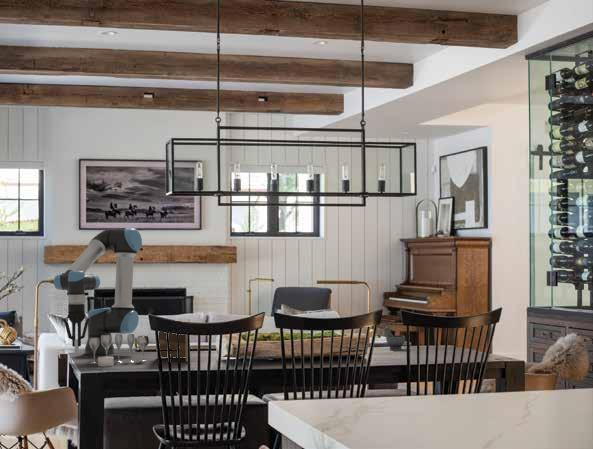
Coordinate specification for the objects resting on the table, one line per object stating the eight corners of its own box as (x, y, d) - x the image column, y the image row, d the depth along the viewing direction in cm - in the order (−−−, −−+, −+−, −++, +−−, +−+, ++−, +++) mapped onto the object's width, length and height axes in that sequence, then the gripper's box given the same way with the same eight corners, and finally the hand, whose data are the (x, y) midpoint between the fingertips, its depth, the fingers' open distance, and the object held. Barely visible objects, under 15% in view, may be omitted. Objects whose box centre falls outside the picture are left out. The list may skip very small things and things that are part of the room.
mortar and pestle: (404, 348, 504) (403, 325, 505) (406, 350, 495) (405, 327, 495) (382, 348, 504) (382, 325, 505) (384, 350, 495) (384, 327, 495)
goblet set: (89, 364, 447) (89, 335, 448) (89, 362, 453) (89, 334, 453) (149, 361, 454) (149, 333, 454) (148, 360, 459) (148, 332, 460)
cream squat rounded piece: (98, 365, 443) (98, 356, 443) (114, 364, 444) (114, 356, 444) (97, 366, 436) (97, 358, 436) (112, 366, 437) (112, 357, 437)
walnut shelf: (156, 358, 465) (156, 319, 465) (189, 358, 466) (189, 319, 467) (154, 363, 445) (154, 322, 446) (188, 363, 446) (188, 322, 447)
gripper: (61, 304, 448) (61, 354, 447) (89, 303, 449) (89, 354, 449) (63, 303, 456) (63, 352, 455) (91, 302, 457) (91, 352, 456)
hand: (76, 353), depth 452 cm, fingers closed
